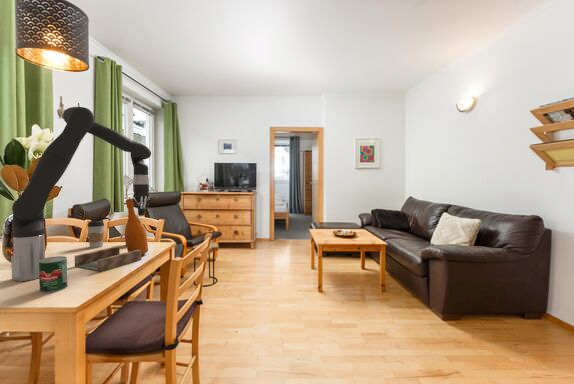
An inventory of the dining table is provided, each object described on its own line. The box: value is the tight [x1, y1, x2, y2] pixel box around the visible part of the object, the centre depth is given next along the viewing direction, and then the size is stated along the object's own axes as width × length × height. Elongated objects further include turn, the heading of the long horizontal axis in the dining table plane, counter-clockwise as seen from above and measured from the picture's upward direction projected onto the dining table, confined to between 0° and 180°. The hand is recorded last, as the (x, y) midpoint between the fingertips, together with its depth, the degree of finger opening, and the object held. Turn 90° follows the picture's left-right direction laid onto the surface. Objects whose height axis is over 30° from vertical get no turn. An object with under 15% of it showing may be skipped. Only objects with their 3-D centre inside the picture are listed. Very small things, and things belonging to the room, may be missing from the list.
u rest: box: [74, 246, 142, 273], centre depth 132 cm, size 20×18×5 cm
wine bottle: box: [124, 198, 149, 256], centre depth 144 cm, size 10×10×30 cm
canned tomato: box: [38, 255, 69, 294], centre depth 100 cm, size 8×8×11 cm
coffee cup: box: [87, 220, 105, 249], centre depth 163 cm, size 8×8×15 cm
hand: (141, 215), depth 148 cm, fingers closed
